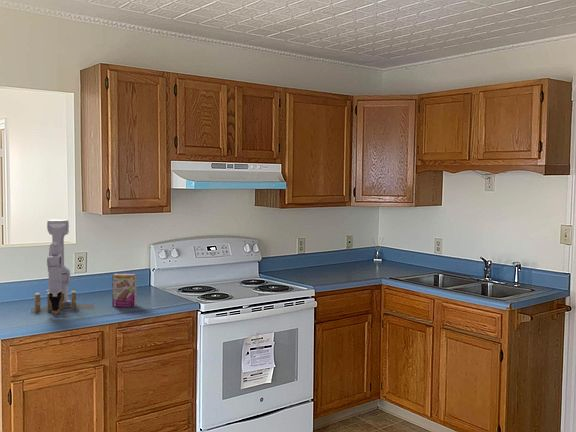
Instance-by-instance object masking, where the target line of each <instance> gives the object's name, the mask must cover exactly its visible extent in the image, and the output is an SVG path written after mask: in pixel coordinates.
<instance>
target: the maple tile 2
mask: <svg viewBox="0 0 576 432" xmlns="http://www.w3.org/2000/svg"><path fill="white" fill-rule="evenodd" d="M46 293H47V298H46V299H47V307H48V310H52V304H51V301H50V299H49V296H50V294H49V293H50V292H46Z"/></svg>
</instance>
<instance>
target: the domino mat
mask: <svg viewBox="0 0 576 432" xmlns="http://www.w3.org/2000/svg"><path fill="white" fill-rule="evenodd" d="M85 310H95V303H86V304H84V303H83V304H76V309H72V304H70V305H64V309H61V310H60V305H59V307H58V312H66V311H70V312H71V311H85ZM50 312H51V313H53V309H52V310H48V306H40V311H35V306H34V307H31V310H30V312H29V313H30V314H38V313H40V314H41V313H50Z"/></svg>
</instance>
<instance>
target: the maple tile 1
mask: <svg viewBox="0 0 576 432" xmlns="http://www.w3.org/2000/svg"><path fill="white" fill-rule="evenodd" d="M34 305H35V306H34V307H35V311H40V307H41V292H35V294H34Z"/></svg>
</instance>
